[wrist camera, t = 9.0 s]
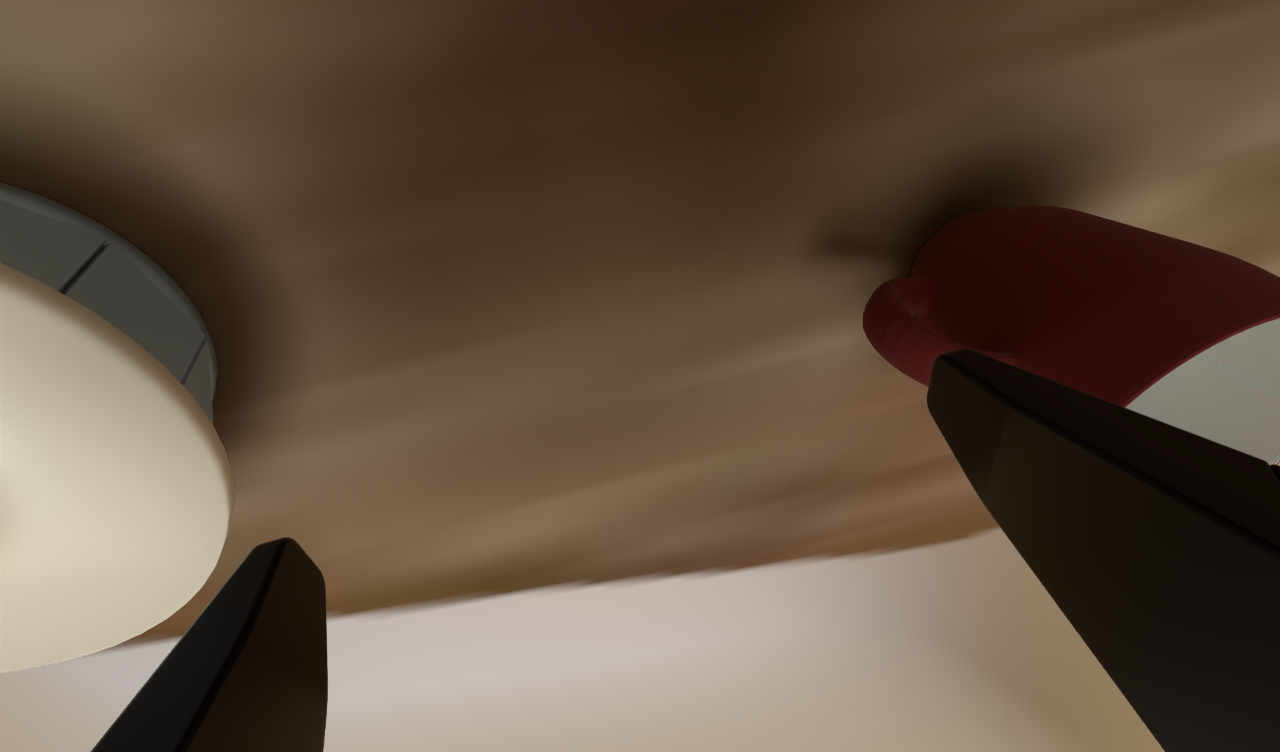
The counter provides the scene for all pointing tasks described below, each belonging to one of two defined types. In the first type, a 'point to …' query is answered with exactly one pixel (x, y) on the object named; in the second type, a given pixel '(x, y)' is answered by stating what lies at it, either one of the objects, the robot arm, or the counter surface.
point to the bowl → (109, 284)
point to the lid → (96, 482)
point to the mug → (1096, 317)
